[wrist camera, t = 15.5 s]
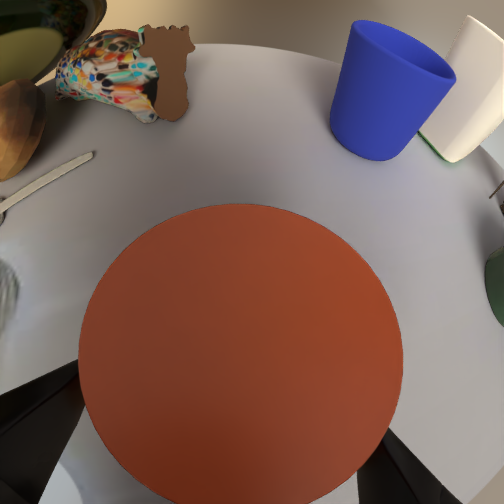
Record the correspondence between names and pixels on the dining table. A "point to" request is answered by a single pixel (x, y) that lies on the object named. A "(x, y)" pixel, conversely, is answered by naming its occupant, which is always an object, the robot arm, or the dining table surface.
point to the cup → (469, 93)
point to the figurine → (130, 71)
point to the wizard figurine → (495, 192)
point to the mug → (386, 90)
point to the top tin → (240, 358)
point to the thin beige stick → (41, 182)
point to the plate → (43, 34)
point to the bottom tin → (496, 283)
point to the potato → (19, 124)
